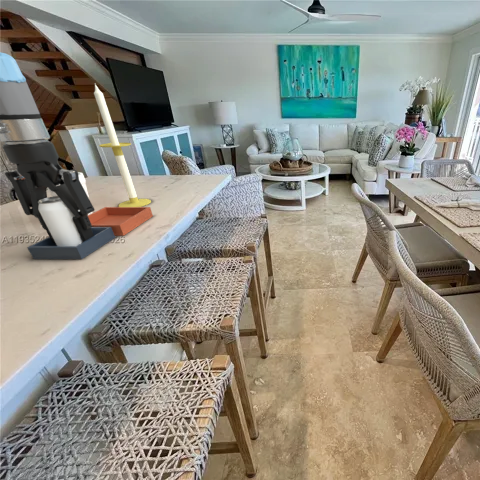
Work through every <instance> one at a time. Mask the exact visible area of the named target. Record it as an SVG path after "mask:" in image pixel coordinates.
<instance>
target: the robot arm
mask: <svg viewBox="0 0 480 480" xmlns="http://www.w3.org/2000/svg"><path fill="white" fill-rule="evenodd" d="M50 139H51V136H50V134H49V132H48V129H47V127H46V125H45V122H44V121H43V118H42V117H41V113H40V111H39V109H38V106H37V104H36V102H35V99H34V97H33V94H32V92H31V90H30V87H29V85H28V82H27V78H26V77H25V76H24V75H23V73H22V71H21V69H20V66H19V64H18V62H17V61H16V59H15V58H14V57H13V56H11V55H10V54H8V53H5V52H1V51H0V142H2V143H4V144H2V146H1V147H2V149H3V152H4V153H5V156H6V158H7V159H8V161H9V163H11V164H14V165H16V169H14V170H10V171H6V172H5V173H4V176H5V177H6V178H7V180H8V181H9V182H10V183H11V185H12V187H13V189H14V192H15V194H16V196H17V199H18V200H19V203H20V206H21V208H22V210H23V212H24V214H25V215H26V216H33V217H34V218H36V219H38V221H39V224H40V225H41V226H42V229H43V230H45V231H46V233H47V235H48V237H50V239H51V241H52V243H55V241H54V239H53V237H52V235H51V233H50V231H49V229H48V227H47V225H46V223H45V222H44V220H43V218H42V216H41V214H40V212H39V209H38V207H39V203H38V201H39V200H41V199H44V198H48V192H47V191H48V189H47V187H48V188H49V189H50V190H51V191H53V192H55V193H56V194H57V195H58V197H59V198H60V199H61V200H62V201H63V203H64V204H65V205H66V206H67V207H68V208H69V210H70V211H71V212H72V213H73V214H74V217H72V219H73V221H74V224H75V226H76V228H77V230H78V232H79V234H80V236H81V239H82V241H83V242H84V241H86V240H88V239H89V238H91V237H93V236H94V234H93V232H92V230H91V227H92V224H91V222H90V220H89V218H88V214H89V213H91V212H93V213H94V212H95V207H94V205H93V204H92V202H91V200H89V199H90V197H89V198H88V196H87V194H86V192H85V190H84V188H83V186H82V185H81V183H80V181H79V176H78V172H79V171H78V170H77V169H70V170H69V169H65V168H63V166H62V165H60V164H59V162H58V160H59V158H60V156H59V154H58V152H57V150H56V146H55V145H54V143H53V142H52V141H49V140H50ZM59 184H60V185H59ZM57 185H59V186H57ZM78 210H80V211H78Z"/></svg>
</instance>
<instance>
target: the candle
mask: <svg viewBox="0 0 480 480" xmlns="http://www.w3.org/2000/svg"><path fill="white" fill-rule="evenodd" d="M93 95H94V98H95V101H96V104H97V106H98V110H99V113H100V117H101V118H102V121H103V125H104V127H105V130H106V133H107V136H108V139H109V142H108V143H102V144H99V145H98V147H101V148H111V150H112V153H113V156H114V159H115V161H116V164H117V167H118V170H119V173H120V177H121V180H122V182H123V185H124V189H125V191H126V194H127V196H128V200H125V201H122V202H121V203H119V204H118V206H117V207H146V206H148V205H149V204H151V203H152V200H151V199H150V198H138V195H137V192H136V189H135V186H134V182H133V180H132V176H131V173H130V171H129V168H128V165H127V161H126V159H125V155H124V152H123V149H122V147H128V146H131V145H132V142H119V139H118V136H117V132H116V129H115V127H114V123H113V121H112V118H111V114H110V111H109V108H108V106H107V102H106V99H105V96H104V93H103V92H102V91H101V90H100V89H99V87H98V86H97V84H96V83H94V92H93Z"/></svg>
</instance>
